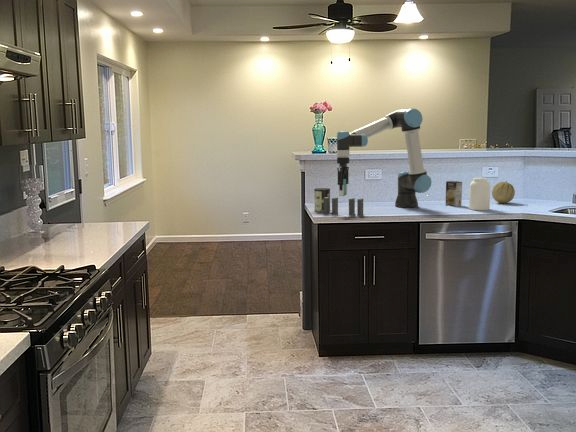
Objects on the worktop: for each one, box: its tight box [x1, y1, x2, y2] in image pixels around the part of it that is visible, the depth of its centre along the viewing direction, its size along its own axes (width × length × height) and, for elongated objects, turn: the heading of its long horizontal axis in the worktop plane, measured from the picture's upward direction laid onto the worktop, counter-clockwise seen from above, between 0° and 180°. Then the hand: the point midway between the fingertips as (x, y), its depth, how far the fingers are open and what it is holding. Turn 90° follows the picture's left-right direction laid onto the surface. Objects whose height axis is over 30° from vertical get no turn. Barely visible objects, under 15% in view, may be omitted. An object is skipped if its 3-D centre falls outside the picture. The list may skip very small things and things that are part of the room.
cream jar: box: [468, 177, 491, 211], centre depth 387 cm, size 12×12×20 cm
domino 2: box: [331, 197, 339, 215], centre depth 377 cm, size 2×5×10 cm, turn 154°
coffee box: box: [445, 180, 463, 207], centre depth 409 cm, size 9×6×16 cm
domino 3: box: [348, 197, 356, 216], centre depth 373 cm, size 2×5×10 cm, turn 154°
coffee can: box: [313, 187, 331, 213], centre depth 394 cm, size 10×10×14 cm
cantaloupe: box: [491, 180, 516, 204], centre depth 416 cm, size 15×15×15 cm
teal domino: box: [343, 179, 347, 197], centre depth 373 cm, size 2×5×10 cm, turn 154°
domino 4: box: [356, 198, 364, 217], centre depth 370 cm, size 2×5×10 cm, turn 154°
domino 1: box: [323, 196, 331, 215], centre depth 380 cm, size 2×5×10 cm, turn 154°
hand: (343, 195), depth 374 cm, fingers closed on teal domino, 5 cm apart
